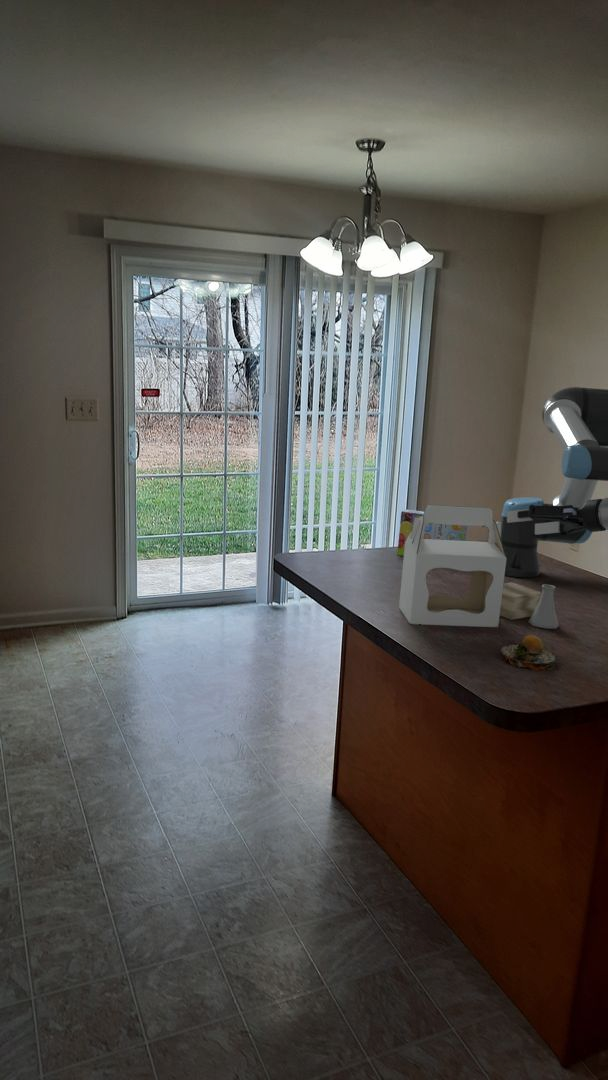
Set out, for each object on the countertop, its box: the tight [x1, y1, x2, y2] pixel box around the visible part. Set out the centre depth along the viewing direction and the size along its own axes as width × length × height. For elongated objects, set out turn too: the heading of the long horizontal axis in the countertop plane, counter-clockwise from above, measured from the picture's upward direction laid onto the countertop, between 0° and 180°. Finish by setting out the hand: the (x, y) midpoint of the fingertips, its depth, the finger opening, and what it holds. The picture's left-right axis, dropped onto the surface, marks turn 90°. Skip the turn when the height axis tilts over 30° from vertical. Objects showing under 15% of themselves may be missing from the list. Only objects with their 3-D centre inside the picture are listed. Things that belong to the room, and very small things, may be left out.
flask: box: [528, 583, 559, 630], centre depth 190 cm, size 7×7×10 cm
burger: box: [498, 634, 557, 671], centre depth 165 cm, size 12×12×8 cm
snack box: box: [396, 509, 468, 557], centre depth 252 cm, size 21×6×15 cm, turn 65°
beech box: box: [499, 582, 542, 620], centre depth 200 cm, size 10×10×6 cm
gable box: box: [398, 504, 507, 628], centre depth 189 cm, size 22×13×28 cm, turn 95°
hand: (521, 523), depth 195 cm, fingers open, 13 cm apart
